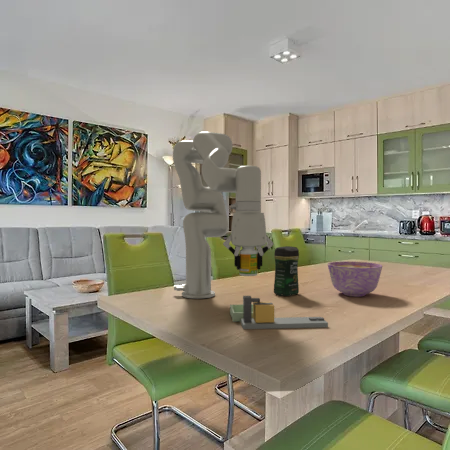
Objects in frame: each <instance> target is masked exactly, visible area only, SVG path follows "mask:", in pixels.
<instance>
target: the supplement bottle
mask: <svg viewBox="0 0 450 450" xmlns="http://www.w3.org/2000/svg"><path fill="white" fill-rule="evenodd" d="M255 248H256V246H241V249H240V251H239V256H240V269H239V270H238V271H239V274H238V275H240V276H242V277H256V276H257V275H258V269H257V253H258V251H257V249H255Z"/></svg>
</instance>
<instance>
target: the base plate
mask: <svg viewBox="0 0 450 450" xmlns="http://www.w3.org/2000/svg"><path fill="white" fill-rule="evenodd" d="M240 324H241V327H242V330H256V329H257V330H261V329H263V330H264V329H265V330H266V329H267V330H269V329H270V330H271V329H301V328H303V329H305V328H306V329H308V328H310V329H312V328H313V329H314V328H329V322H328V321H326V320H325V318H324V317H322V316H303V317H302V316H296V317H293V316H291V317H288V316H287V317H274V322H264V323H256V322H255V320H254V318H252V322H251V323H244V321H243V318H241V322H240Z"/></svg>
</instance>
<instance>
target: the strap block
mask: <svg viewBox="0 0 450 450" xmlns="http://www.w3.org/2000/svg"><path fill="white" fill-rule="evenodd" d="M252 304H253V318H254V320H255V322H256V323H264V322H274V318H275V305H274V303H273V302H272V301H260V303H257V302H252Z"/></svg>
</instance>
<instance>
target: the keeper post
mask: <svg viewBox="0 0 450 450" xmlns="http://www.w3.org/2000/svg"><path fill="white" fill-rule="evenodd" d="M253 302H257V303H260V302H261V298H260V297H252V295H242V304H243V321H244V323H251V322H252V304H253Z"/></svg>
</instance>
